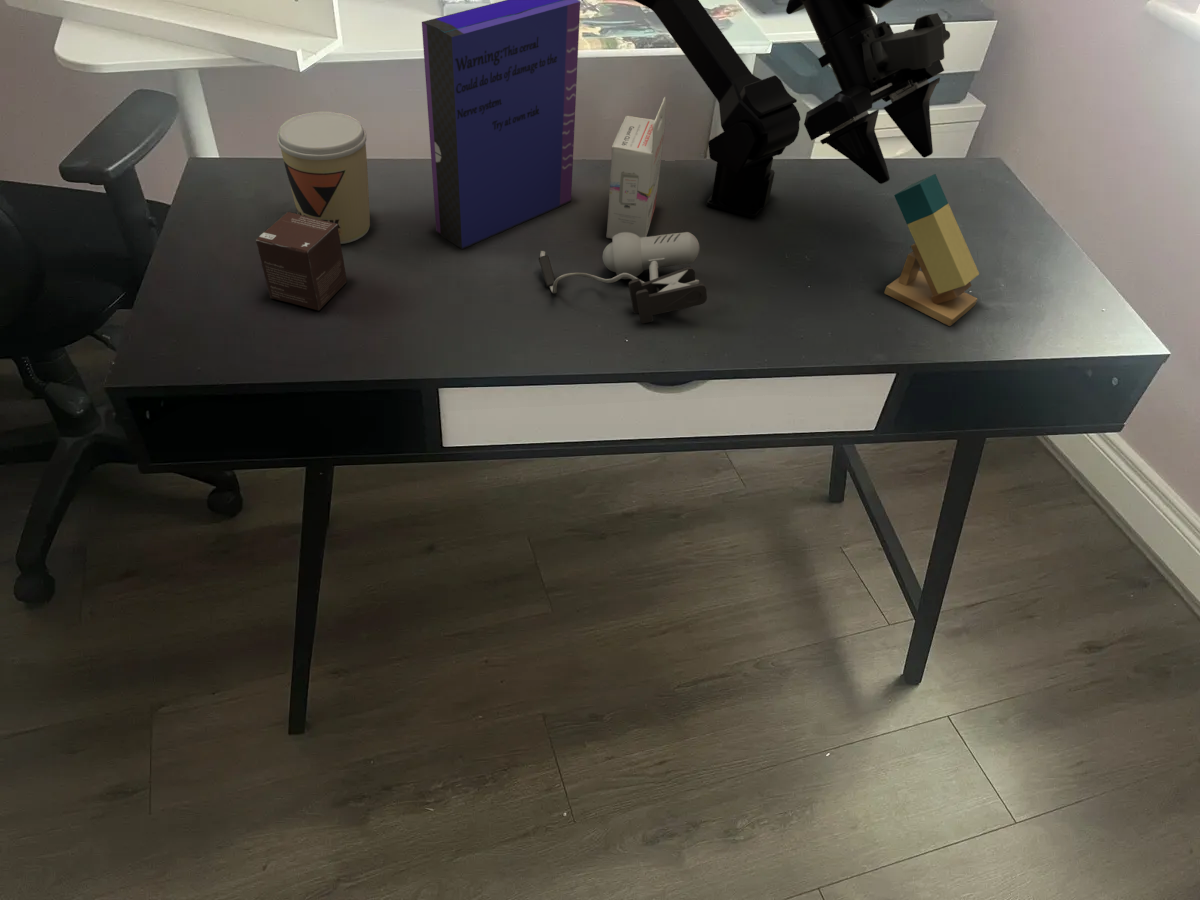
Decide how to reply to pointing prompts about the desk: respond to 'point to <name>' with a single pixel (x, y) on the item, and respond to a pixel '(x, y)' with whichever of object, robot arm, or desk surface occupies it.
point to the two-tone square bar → (937, 234)
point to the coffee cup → (328, 170)
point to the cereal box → (501, 114)
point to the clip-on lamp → (650, 253)
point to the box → (302, 260)
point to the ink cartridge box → (635, 174)
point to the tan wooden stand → (928, 292)
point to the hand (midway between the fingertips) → (907, 168)
